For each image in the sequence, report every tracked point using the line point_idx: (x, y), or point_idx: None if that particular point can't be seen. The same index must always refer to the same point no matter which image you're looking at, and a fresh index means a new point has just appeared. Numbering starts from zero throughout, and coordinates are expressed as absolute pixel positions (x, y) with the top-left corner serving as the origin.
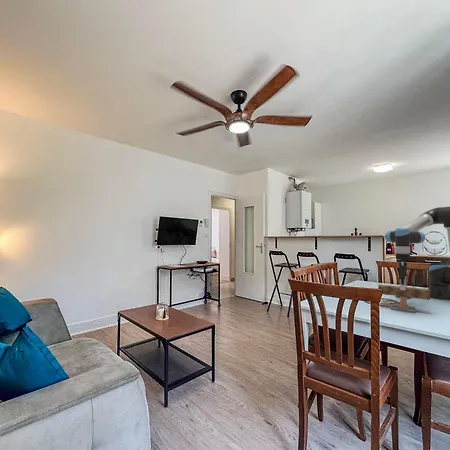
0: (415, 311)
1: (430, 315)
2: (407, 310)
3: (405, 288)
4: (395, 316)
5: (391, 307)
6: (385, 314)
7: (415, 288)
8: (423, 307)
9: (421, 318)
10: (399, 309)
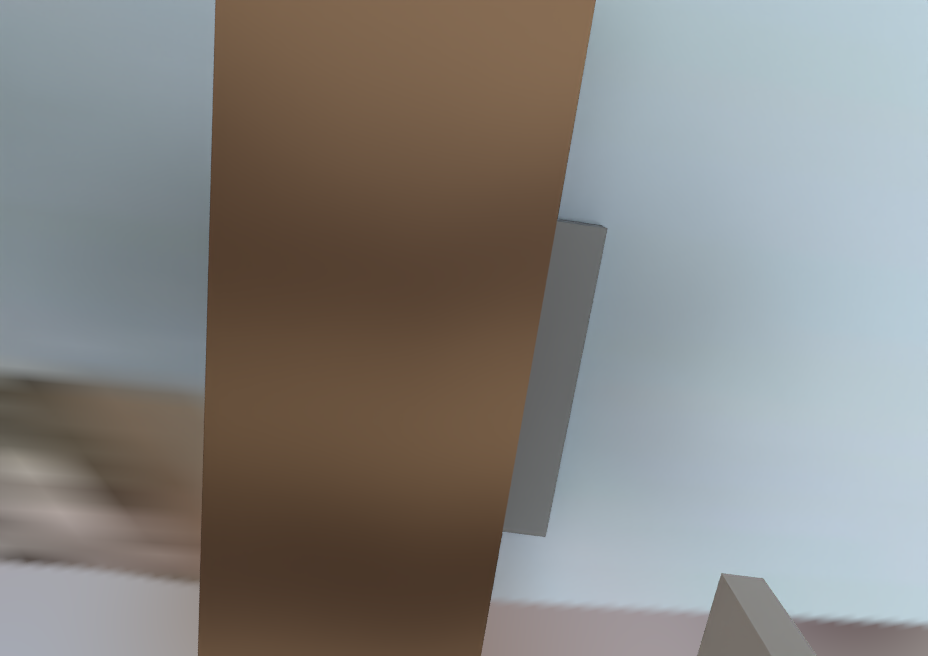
0: (602, 228)
1: (635, 12)
2: (584, 336)
3: (781, 623)
4: (888, 501)
5: (504, 529)
6: (830, 600)
7: (280, 241)
8: (91, 25)
9: (877, 187)
10: (563, 436)
